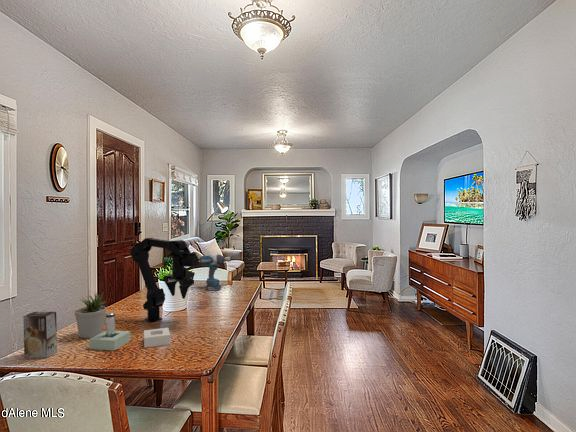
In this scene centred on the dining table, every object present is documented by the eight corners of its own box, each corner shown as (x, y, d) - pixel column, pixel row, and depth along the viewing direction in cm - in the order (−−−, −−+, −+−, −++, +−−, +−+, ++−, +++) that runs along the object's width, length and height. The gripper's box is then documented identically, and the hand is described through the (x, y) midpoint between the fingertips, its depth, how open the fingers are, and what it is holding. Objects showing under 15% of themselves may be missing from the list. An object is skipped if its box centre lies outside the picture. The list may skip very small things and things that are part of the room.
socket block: (144, 339, 153) (144, 330, 153) (168, 336, 157) (168, 327, 157) (144, 347, 144) (144, 338, 144) (170, 344, 148) (170, 334, 148)
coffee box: (58, 351, 140) (57, 311, 140) (47, 358, 134) (46, 316, 134) (34, 351, 140) (34, 311, 140) (22, 358, 134) (22, 316, 134)
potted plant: (71, 342, 150) (71, 295, 149) (76, 332, 162) (76, 289, 162) (105, 338, 155) (104, 292, 154) (107, 329, 167) (107, 286, 167)
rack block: (107, 339, 154) (107, 330, 154) (130, 340, 152) (130, 331, 152) (89, 349, 143) (89, 339, 143) (114, 350, 141) (114, 340, 141)
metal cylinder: (106, 343, 149) (106, 312, 149) (116, 342, 150) (115, 312, 150) (105, 346, 145) (104, 315, 145) (114, 345, 146) (114, 314, 146)
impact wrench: (230, 291, 246) (230, 255, 246) (198, 291, 246) (198, 255, 246) (232, 288, 254) (232, 253, 254) (201, 288, 254) (201, 253, 254)
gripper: (203, 265, 175) (203, 297, 175) (181, 262, 187) (182, 291, 187) (183, 268, 167) (183, 301, 167) (162, 264, 179) (162, 295, 179)
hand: (178, 297), depth 175 cm, fingers open, 9 cm apart
